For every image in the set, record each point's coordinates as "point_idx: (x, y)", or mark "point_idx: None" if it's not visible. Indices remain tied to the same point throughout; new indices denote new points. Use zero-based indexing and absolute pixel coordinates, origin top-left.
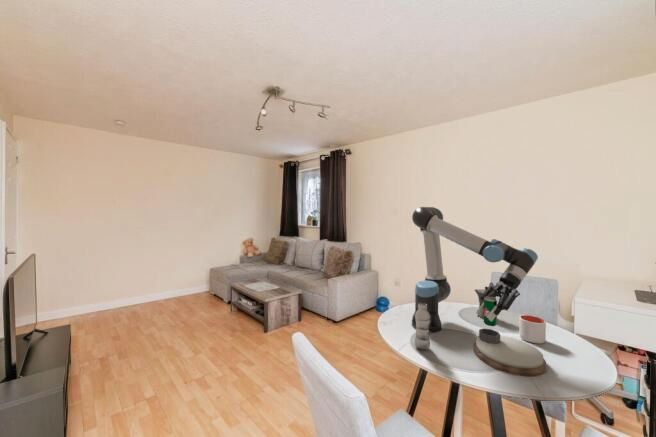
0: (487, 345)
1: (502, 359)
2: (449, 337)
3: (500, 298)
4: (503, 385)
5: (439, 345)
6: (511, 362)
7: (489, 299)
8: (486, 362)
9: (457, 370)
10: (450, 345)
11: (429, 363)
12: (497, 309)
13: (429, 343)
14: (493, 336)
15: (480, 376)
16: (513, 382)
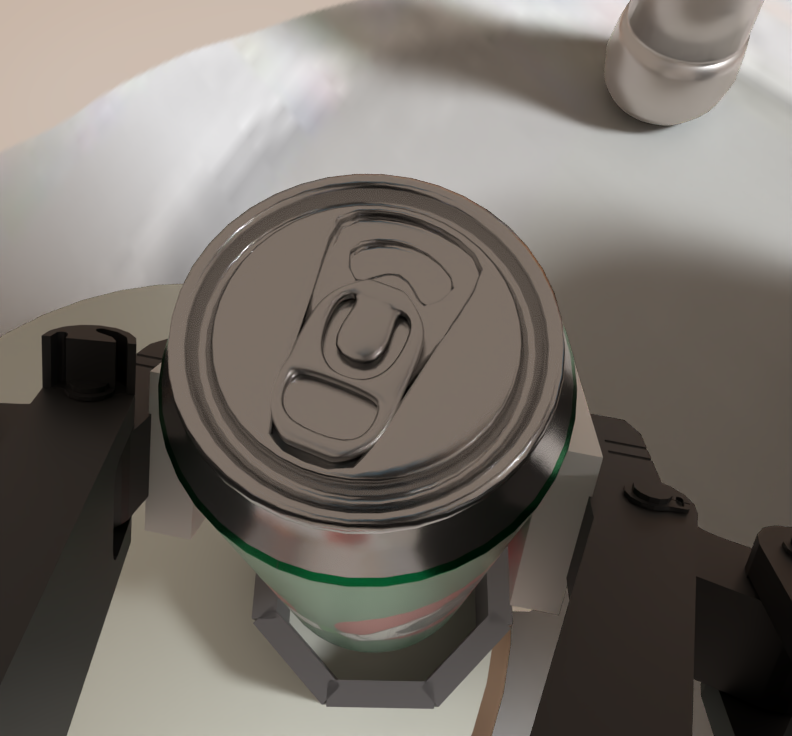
0: None
1: (93, 300)
2: (751, 451)
3: (40, 549)
4: (41, 177)
5: (643, 237)
6: (24, 331)
7: (306, 199)
8: None
9: (313, 81)
10: (607, 318)
11: (463, 5)
12: (139, 377)
13: (619, 64)
14: None
15: (184, 143)
16: (6, 261)
